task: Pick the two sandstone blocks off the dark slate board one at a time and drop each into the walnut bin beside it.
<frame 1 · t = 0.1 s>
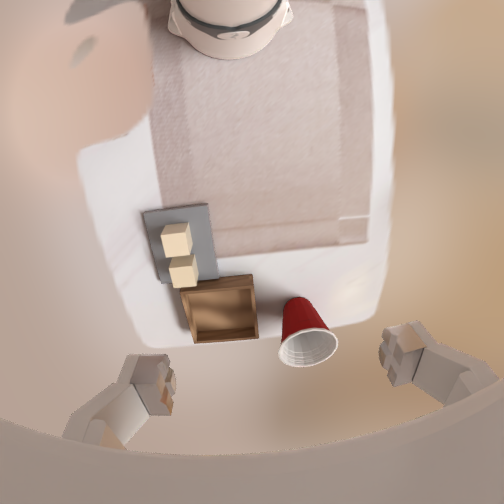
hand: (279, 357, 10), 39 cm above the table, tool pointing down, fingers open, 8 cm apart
slate board: (182, 244, 51), on the table
plastic cup: (297, 308, 59), on the table
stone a: (179, 234, 49), point 1 cm above the table, touching slate board
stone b: (185, 265, 51), point 1 cm above the table, touching slate board
walnut bin: (221, 305, 57), on the table
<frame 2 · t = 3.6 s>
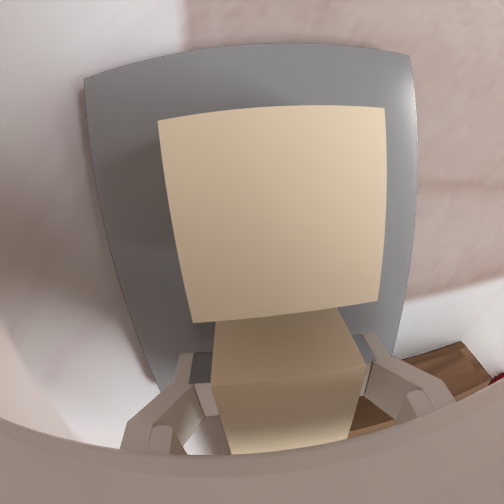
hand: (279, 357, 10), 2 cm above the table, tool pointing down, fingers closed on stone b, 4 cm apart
slate board: (267, 247, 11), on the table
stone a: (264, 183, 9), point 1 cm above the table, touching slate board
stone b: (276, 339, 11), point 1 cm above the table, touching gripper, slate board
walnut bin: (352, 431, 16), on the table
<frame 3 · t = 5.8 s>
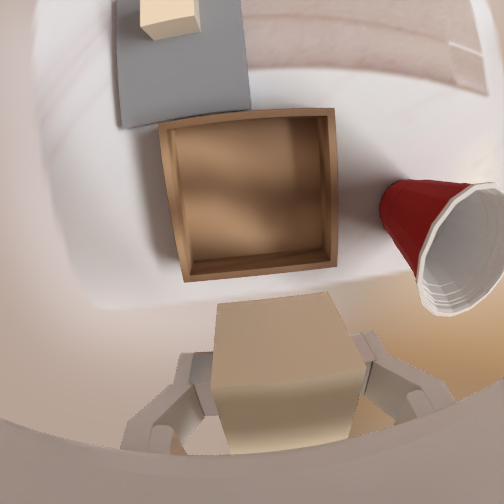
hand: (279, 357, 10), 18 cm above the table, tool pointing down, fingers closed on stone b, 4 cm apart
slate board: (179, 44, 20), on the table
plastic cup: (401, 209, 27), on the table
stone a: (176, 17, 18), point 1 cm above the table, touching slate board
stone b: (276, 340, 11), point 17 cm above the table, touching gripper
walnut bin: (252, 188, 25), on the table
when the fingers open (4 cm above the table, at t = 8.2 s): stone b drops 2 cm, resting on walnut bin.
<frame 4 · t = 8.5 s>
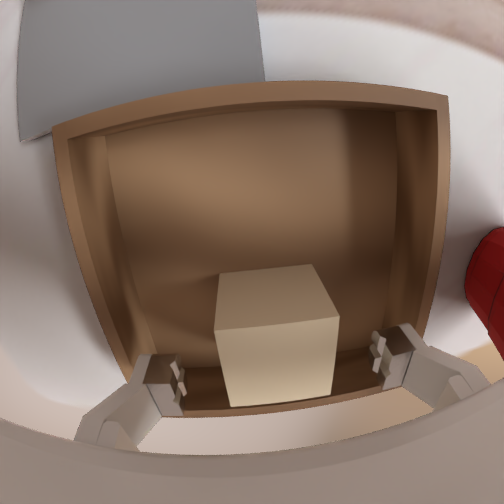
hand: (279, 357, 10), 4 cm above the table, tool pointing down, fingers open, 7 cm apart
plastic cup: (489, 269, 15), on the table
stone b: (268, 307, 13), point 1 cm above the table, touching walnut bin
walnut bin: (264, 252, 13), on the table
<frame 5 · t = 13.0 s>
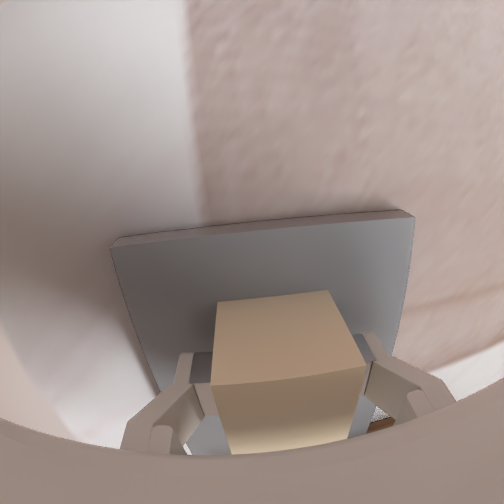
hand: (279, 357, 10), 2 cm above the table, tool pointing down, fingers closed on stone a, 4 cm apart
slate board: (275, 365, 13), on the table
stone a: (276, 339, 11), point 1 cm above the table, touching gripper, slate board
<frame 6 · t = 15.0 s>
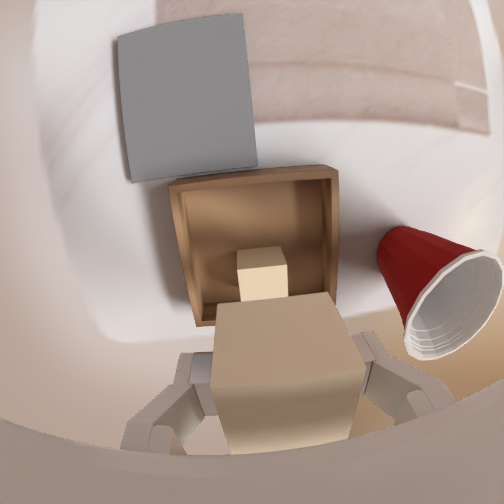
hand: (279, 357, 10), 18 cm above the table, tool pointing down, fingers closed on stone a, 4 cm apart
slate board: (185, 94, 22), on the table
plastic cup: (397, 252, 29), on the table
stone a: (276, 340, 11), point 17 cm above the table, touching gripper
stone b: (260, 267, 28), point 1 cm above the table, touching walnut bin
walnut bin: (258, 240, 28), on the table
when the fingers open (4 cm above the table, at t = 17.4 s): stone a drops 2 cm, resting on walnut bin.
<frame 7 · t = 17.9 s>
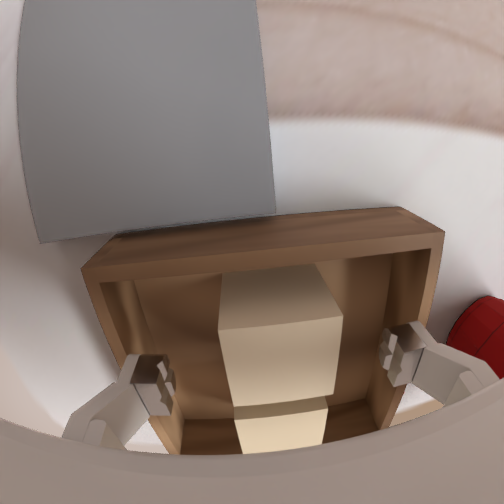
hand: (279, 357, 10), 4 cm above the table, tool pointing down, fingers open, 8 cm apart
slate board: (126, 65, 9), on the table
plastic cup: (471, 329, 16), on the table
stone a: (271, 307, 13), point 1 cm above the table, touching walnut bin
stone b: (273, 380, 15), point 1 cm above the table, touching walnut bin
walnut bin: (271, 340, 15), on the table
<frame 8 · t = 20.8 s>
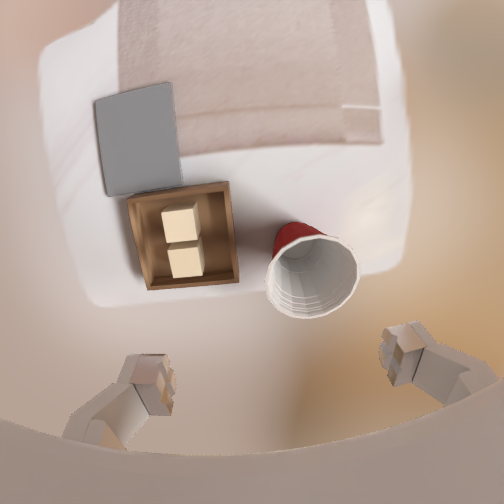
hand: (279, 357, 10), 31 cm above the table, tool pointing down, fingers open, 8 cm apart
slate board: (138, 140, 35), on the table
plastic cup: (294, 241, 42), on the table
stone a: (184, 217, 39), point 1 cm above the table, touching walnut bin
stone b: (189, 251, 41), point 1 cm above the table, touching walnut bin
walnut bin: (187, 233, 41), on the table
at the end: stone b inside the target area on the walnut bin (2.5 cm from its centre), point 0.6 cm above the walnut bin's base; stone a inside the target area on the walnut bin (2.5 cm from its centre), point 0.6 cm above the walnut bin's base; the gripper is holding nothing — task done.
